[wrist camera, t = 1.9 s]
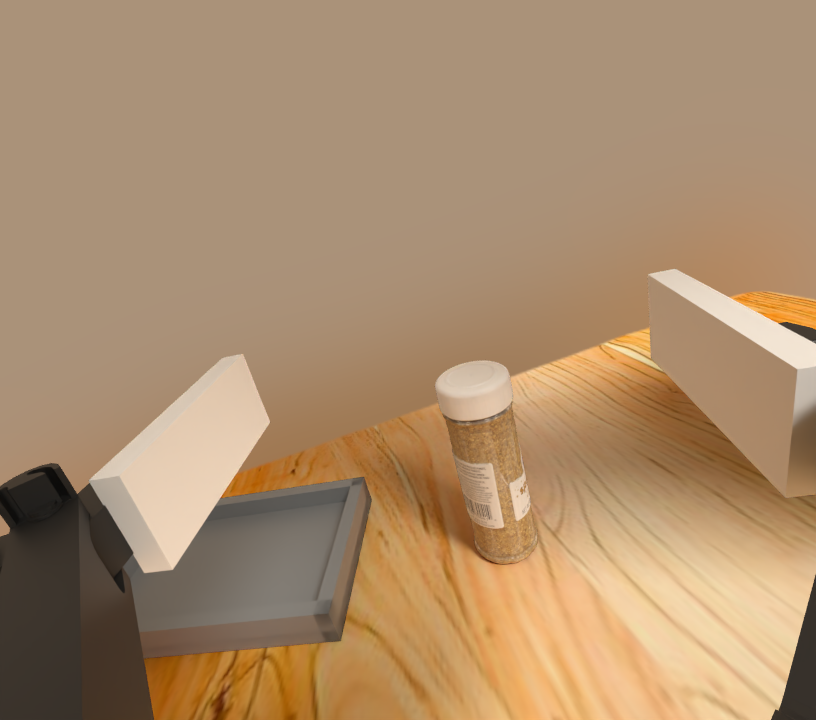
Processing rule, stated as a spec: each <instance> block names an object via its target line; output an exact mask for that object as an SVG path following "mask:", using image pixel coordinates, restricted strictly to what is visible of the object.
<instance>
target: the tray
mask: <svg viewBox="0 0 816 720" xmlns="http://www.w3.org/2000/svg"><path fill="white" fill-rule="evenodd" d="M371 500H372V499H371V496H370V493H369V490H368V488H367V485H366V482H365V479H364V477H360V478H353V479H346V480H340V481H333V482H326V483H320V484H313V485H306V486H299V487H293V488H286V489H279V490H273V491H266V492H259V493H253V494H246V495H239V496H233V497H226V498H220V499H219V500H218V502H217V504H216V505H215V507H214V508H213V510H212V511H211V513H210V514H209V516H208V517H207V519H206V520H205V522H204V523H203V525H202V526H201V528H200V529H199V531H198V532H197V534H196V535H195V537H194V538H193V540H192V541H191V543H190V544H189V546H188V547H187V549H186V551H185V552H184V554H183V555H182V557H181V558H180V560H179V561H178V563H177V564H176V566H175V567H174V569H173V570H167V571H158V572H150V573H144V572H143V570H142V568H141V567H140V565H139V564H138V562H137V560H136V559H135V557H134V555H132V556H131V557H130V558H129V560H128V561H127V562H126V564H125V565H124V566H123V568H124V570H125V572H126V573H127V575H128V576H129V578H130V580H131V586H132V592H133V598H134V604H135V610H136V616H137V622H138V628H139V634H140V640H141V646H142V652H143V658H154V657H165V656H176V655H188V654H199V653H210V652H221V651H232V650H244V649H255V648H266V647H277V646H288V645H300V644H311V643H322V642H333V641H341V636H342V632H343V627H344V623H345V618H346V614H347V609H348V605H349V600H350V596H351V591H352V587H353V582H354V578H355V573H356V568H357V564H358V559H359V555H360V550H361V546H362V541H363V537H364V532H365V528H366V523H367V519H368V514H369V509H370V505H371Z"/></svg>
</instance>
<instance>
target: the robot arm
mask: <svg viewBox="0 0 816 720" xmlns="http://www.w3.org/2000/svg"><path fill="white" fill-rule="evenodd" d="M648 292H649V320H650V346H651V359H652V360H653V361H654V362H655V363H656V364H657V365H658V366H659V367H660V368H661V369H662V370H663V371H664V372H665V373H666V374H667V375H668V376H669V377H670V378H671V379H672V381H673V382H674V383H675V384H676V385H677V386H678V387H679V388H680V389H681V390H682V391H683V392H684V393H685V394H686V395H687V396H688V397H689V398H690V399H691V400H692V401H693V402H694V403H695V404H696V406H697V407H698V408H699V409H700V410H701V411H702V412H703V413H704V414H705V415H706V416H707V417H708V418H709V419H710V420H711V421H712V422H713V423H714V424H715V425H716V426H717V427H718V428H719V429H720V431H721V432H722V433H723V434H724V435H725V436H726V437H727V438H728V439H729V440H730V441H731V442H732V443H733V444H734V445H735V446H736V447H737V448H738V449H739V450H740V451H741V452H742V453H743V454H744V456H745V457H746V458H747V459H748V460H749V461H750V462H751V463H752V464H753V465H754V466H755V467H756V468H757V469H758V470H759V471H760V472H761V473H762V474H763V475H764V476H765V477H766V478H767V479H768V481H769V482H770V483H771V484H772V485H773V486H774V487H775V488H776V489H777V490H778V491H779V492H780V493H781V494H782V495H783V496H784V497H785V498H791V497H800V496H808V495H816V330H815V329H813V328H810V327H806V326H801V325H797V324H793V323H789V322H783V323H776V322H774V321H772V320H770V319H768V318H767V317H765V316H763V315H761V314H759V313H757V312H755V311H753V310H752V309H750V308H748V307H746V306H744V305H742V304H740V303H738V302H737V301H735V300H733V299H731V298H729V297H727V296H725V295H723V294H721V293H720V292H718V291H716V290H714V289H712V288H710V287H708V286H706V285H705V284H703V283H701V282H699V281H697V280H695V279H693V278H691V277H690V276H688V275H686V274H684V273H682V272H680V271H678V270H676V269H672V270H668V271H662V272H657V273H652V274H648ZM269 423H270V421H269V418H268V416H267V413H266V411H265V408H264V406H263V403H262V401H261V398H260V396H259V393H258V391H257V388H256V386H255V383H254V381H253V378H252V376H251V373H250V371H249V368H248V366H247V363H246V361H245V358H244V356H243V354H240V355H235V356H229V357H225V358H222V359H221V360H220V361H218V362H217V363H216V364H215V365H214V366H213V367H212V368H211V369H210V370H209V371H208V372H206V373H205V374H204V375H203V376H202V377H201V378H200V379H199V380H198V381H197V382H196V383H194V385H192V386H191V387H190V388H189V389H188V390H187V391H186V392H185V393H184V394H182V395H181V396H180V397H179V398H178V399H177V400H176V401H175V402H174V403H173V404H172V405H171V406H169V407H168V408H167V409H166V410H165V411H164V412H163V413H162V414H161V415H160V416H158V418H156V419H155V420H154V421H153V422H152V423H151V424H150V425H149V426H148V427H146V428H145V429H144V430H143V431H142V432H141V433H140V434H139V435H138V436H137V437H136V438H135V439H133V440H132V441H131V442H130V443H129V444H128V445H127V446H126V447H125V448H124V449H123V450H121V451H120V452H119V453H118V454H117V455H116V456H115V457H114V458H113V459H112V460H110V462H108V463H107V464H106V465H105V466H104V467H103V468H102V469H101V470H100V471H99V472H98V473H96V474H95V475H94V476H93V477H92V478H91V479H90V480H89V482H90V483H89V484H88V485H87V486H86V487H85V488H84V489H82V490H81V491H80V492H79V493H78V494H77V493H76V491H75V490H74V488H73V487H72V485H71V483H70V482H69V480H68V479H67V477H66V475H65V474H64V472H63V471H62V469H61V467H60V466H59V465H58V464H52V463H51V464H47V465H42V466H39V467H36V468H33V469H31V470H28V471H26V472H24V473H22V474H20V475H18V476H16V477H14V478H12V479H11V480H9V481H8V482H6V483H4V484H3V485H2V486H0V515H1V516H2V517H3V519H4V520H5V522H6V523H7V524H8V526H9V527H10V532H9V534H7V535H4V536H1V537H0V720H154V717H153V711H152V705H151V699H150V693H149V687H148V681H147V675H146V670H145V664H144V658H143V652H142V646H141V640H140V634H139V628H138V622H137V616H136V610H135V604H134V598H133V592H132V586H131V580H130V578H129V576H128V575H127V573H126V572H125V570H124V568H123V566H124V565H125V564H126V562H127V561H128V560H129V558H130V557H131V556H132V555H134V557H135V559H136V560H137V562H138V564H139V565H140V567H141V568H142V570H143V572H144V573H150V572H158V571H167V570H173V569H174V567H175V566H176V564H177V563H178V561H179V560H180V558H181V557H182V555H183V554H184V552H185V551H186V549H187V547H188V546H189V544H190V543H191V541H192V540H193V538H194V537H195V535H196V534H197V532H198V531H199V529H200V528H201V526H202V525H203V523H204V522H205V520H206V519H207V517H208V516H209V514H210V513H211V511H212V510H213V508H214V507H215V505H216V504H217V502H218V500H219V499H220V497H221V496H222V494H223V493H224V491H225V490H226V488H227V487H228V485H229V484H230V482H231V481H232V479H233V478H234V476H235V475H236V473H237V472H238V470H239V469H240V467H241V465H242V464H243V462H244V461H245V460H246V458H247V457H248V455H249V453H250V452H251V450H252V449H253V447H254V446H255V444H256V443H257V441H258V440H259V438H260V437H261V435H262V434H263V432H264V431H265V429H266V428H267V426H268V425H269ZM771 720H816V575H815V579H814V583H813V587H812V591H811V594H810V598H809V602H808V606H807V609H806V613H805V617H804V621H803V624H802V628H801V632H800V636H799V639H798V643H797V647H796V651H795V655H794V658H793V662H792V666H791V670H790V673H789V677H788V681H787V685H786V688H785V692H784V696H783V699H782V703H781V706H780V708H779V711H778V710H775V712H774V714H773V716H772V719H771Z"/></svg>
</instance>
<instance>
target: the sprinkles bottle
mask: <svg viewBox="0 0 816 720" xmlns="http://www.w3.org/2000/svg"><path fill="white" fill-rule="evenodd" d="M435 389H436V394H437V399H438V403H439V407H440V410H441V412H442V413H443V416H444V418H445V419H446V424H447V428H448V432H449V435H450V440H451V444H452V452H453V456H454V460H455V464H456V468H457V472H458V476H459V480H460V484H461V488H462V492H463V496H464V500H465V503H466V507H467V511H468V514H469V516H470V519H471V523H472V526H473V530H474V543H475V546H476V549H477V550H478V552H479V553H480V554H481V555H482V556H484V557H485V558H486V559H488V560H490V561H492V562H495V563H500V564H509V563H516V562H520V561H521V560H523V559H525V558H527V557H528V556H529V555H530V554H531V552H533V551H534V549H535V547H536V545H537V542H538V533H537V529H536V527H535V525H534V521H533V515H532V510H531V505H530V503H531V501H530V495H529V490H528V485H527V480H526V475H525V470H524V464H523V459H522V454H521V448H520V444H519V441H518V437H517V432H516V425H515V421H514V415H513V410H512V400H513V390H512V384H511V380H510V375H509V372H508V370H507V368H506V367H505V366H503V365H502V364H500V363H497V362H493V361H472V362H467V363H463V364H460V365H457V366H454V367H452V368H450V369H448V370H447V371H445V372H444V373H442V374H441V375H440V376H439V377H438V379H437V381H436V384H435Z"/></svg>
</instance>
